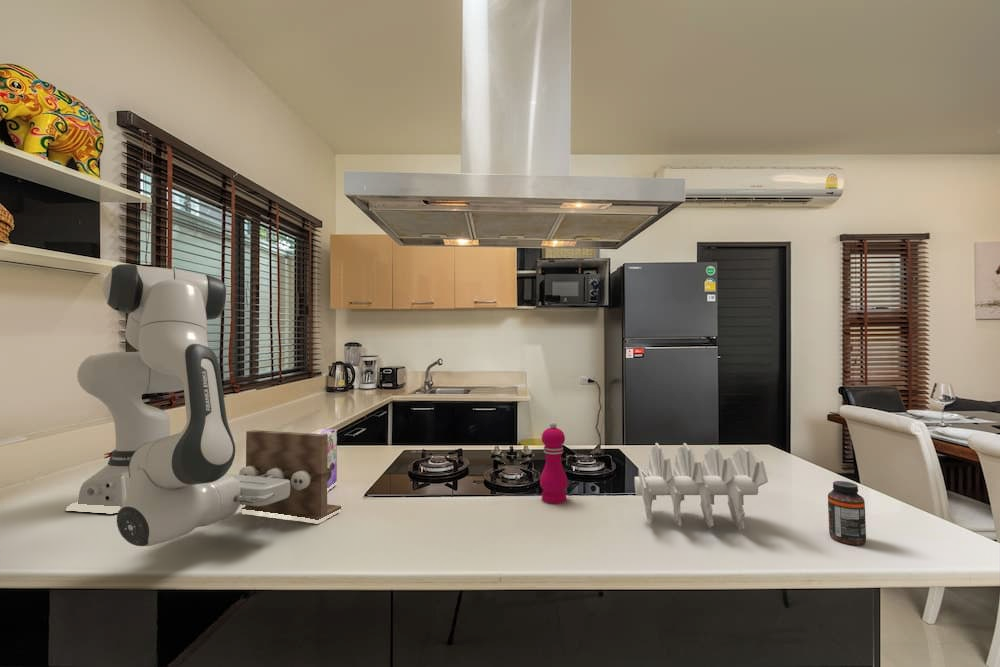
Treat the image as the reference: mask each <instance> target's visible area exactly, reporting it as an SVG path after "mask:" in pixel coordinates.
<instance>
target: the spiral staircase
mask: <svg viewBox="0 0 1000 667" xmlns="http://www.w3.org/2000/svg"><path fill="white" fill-rule="evenodd" d="M709 447H710V449H709V450H707V451H706V453H705V454H704V459H703V460H702V462H701V461H699V462H698V461H697V457H696V453H695V450H694V448H693V446H690V448H689V446H688V444H687V443H686V442H683V446H680V447H679V448H678V449H677V452H678V453H676V454H675V460H674V466H675V467H673V470H672V464H671V458H667V455H666V452H665V448H664V445H663V444H662V445H660V444H659V443H658V442H655V446H653V447H652V448H651V451H650V452H651V454H649V456H648V457H649V459H648V468H649V469H647V470H646V471H647V476H646V474H645V473H643V471H642V467H641V466H638V468H637V469H638V470H637V472H638V476H634V479H633V480H634V490H635V495H636V496H642V501H643V503H644V504H643V505H644V509H645V516H646V520H647V522H648V523H649V524H653V518H652V516H653V515H652V514H653V513H652V512H653V510H652V506H653V501H657V496H670V497H671V501H672V505H673V506H672V507H673V514H674V520H675V523H676V524H677V525H679V526H682V518H681V517H682V516H681V514H682V512H681V503H682V501H685V496H700V504H699V505H700V508H701V511H702V515H703V520H704V522H705V525H706V526H707V528H708V529H709V528H710V529H709V530H712V527H713V526H714V520H713V507H712V506H713V505H715V496H727V499H728V500H727V506H728V509H729V512H730V516H731V519H732V521H733V524H735V526H736V528H737V530H738V529H741V530H742V529H745V528H746V527H745V523H744V522H745V521H744V518H745V515H746V513H745V510H744V504H745V503H744V497H745V496H757V495H759V487H760V486H762V485H765V484H766V483H769V481H768V475H767V472H766V467H765V464H764V461H761V460H760V461H758V460H759V459H758V458H757V456H756V454H755V452H754V449H753V447H749V448H748V449H747V448H745V447H744V446H743V445H739V449H737V450H735V451H734V452H733V453H732V458H730V457H727V458H726V456H725V454H724V451H723V449H722V447H721V446H717V448H715V446H714V445H710V446H709Z"/></svg>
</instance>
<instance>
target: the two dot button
mask: <svg viewBox="0 0 1000 667" xmlns="http://www.w3.org/2000/svg"><path fill="white" fill-rule="evenodd" d="M311 479H312V473H310V474H308V472H306V471H304V470H301V471H298V472H296V473H294V474H293V475H292V477H291V484H292V486H293V488H294V489H296V490H302V489H304V488H307V487H308V486H309V484H310V480H311Z"/></svg>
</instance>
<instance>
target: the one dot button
mask: <svg viewBox="0 0 1000 667" xmlns="http://www.w3.org/2000/svg"><path fill="white" fill-rule="evenodd" d="M259 474H261V468H260V469H257V470H256V468H255V467H254V466H247V467H246V466H244V467H242V468H241V469H240V470H239V472H238V475H246V476H258V475H259Z"/></svg>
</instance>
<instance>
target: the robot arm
mask: <svg viewBox="0 0 1000 667" xmlns="http://www.w3.org/2000/svg"><path fill="white" fill-rule="evenodd" d="M102 287H103V288H102V291H103V296H104V298H105V300H106V304H107V305H108V306H109V307H110V308H111V309H113V310H114V311H116V312H117V311H118V312H120V313H124V314H128V316H127V322H126V327H125V331H124V332H125V333H124V335H125V339H126V341H127V342H128V343H129V345H130V346H132V348H134V349H135V350H136V351H113V352H103V353H98V354H92V355H89V356H87V357H86V358H85V359H84V360H83V361H82V362H81V364H80V366H79V367H78V369H77V372H76V377H77V378H76V379H77V382H78V384H79V386H80V387H81V389H83V391H85V392H86V393H87V394H90V395H91V396H93V397H95V398H97V399H98V400H99V401H101V403H103V404H104V405H105V406H106V408H108V410H109V412H110V413H111V416H112V418H113V422H114V432H115V448H114V450H112V451H111V452H107V453H104V454H103V455H104V457H103V459H107V458H109V459H108V462H107V465H106V466H104V467H102V468H101V469H100V470H99V471H98V472H96V473H94V474H93V475H92V476H90V477H89V478H87V479H86V480H85V481H84V482H83V483H82V485H81V486H80V489H79V492H78V499H77V500H78V504H87V505H104V506H120V507H121V508H120V510H119V511H118V514H116V526H117V528H118V531H119V533H120V535H121V536H122V538H123V539H124V540H125V541H126V542H128V543H129V544H131V545H133V546H137V547H150V546H155V545H159V544H163V543H166V542H169V541H172V540H174V539H177V538H180V537H182V536H185V535H187V534H189V533H191V532H193V531H194V530H195V529H197V528H199V527H200V528H201V527H206V526H209V525H211V524H214V523H217V522H219V521H222V520H225V519H226V518H229V517H231V516H233V515H234V514H236V512H237V511H238V510H239V508H240V505H241V506H245V505H250V506H264V505H268V504H272V503H275V502H278V501H280V500H283V499H286V498H288V497H289V495H290V481H289V480H288V479H277V475H269V474H265V475H262V476H246V475H239V474H233V473H228V472H229V470H230V468H231V467H232V465H233V463H234V460H235V456H236V443H235V440H234V437H233V434H232V432H231V429H230V427H229V422H228V419H227V413H226V412H227V411H226V405H225V404H226V403H225V397H224V389H223V383H222V382H223V380H222V375H221V368H220V365H219V360H218V357H217V355H216V354H215V352H214V351H213V349H211V348H210V347H209V342H208V320H215V319H218V318H219V317H220V316H221V315H222V314H223V312H224V311H225V308H226V306H227V303H228V292H227V287H226V284H225V283H224V282H223V281H222V280H221V279H220V278H217V277H215V276H212V275H210V274H205V275H204V274H199V273H196V272H192V271H186V270H183V269H178V268H165V267H158V266H146V265H145V266H142V265H141V266H140V265H139V266H138V265H137V264H135V263H134V264H133V263H123V264H117V265H116V266H114V267H112V268H111V271H109V273H108V274H107V275H106V276H105V279H104V281H103V286H102ZM180 391H183V394H184V395H183V396H184V402H185V403H184V404H185V415H186V416H185V417H186V423H185V426H184V427H183V428H182V431H180V432H178V433H174V434H170V433H171V432H170V431H171V430H170V429H171V419H170V415H169V414H168V413H167V411H166V410H163V409H161V408H158V407H155V406H152V405H149V404H146V403H145V402H144V401H143V399H142V396H143V395H145V394H159V393H175V392H180Z"/></svg>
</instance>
